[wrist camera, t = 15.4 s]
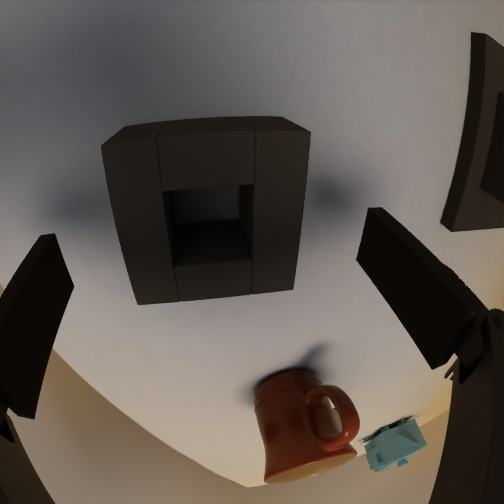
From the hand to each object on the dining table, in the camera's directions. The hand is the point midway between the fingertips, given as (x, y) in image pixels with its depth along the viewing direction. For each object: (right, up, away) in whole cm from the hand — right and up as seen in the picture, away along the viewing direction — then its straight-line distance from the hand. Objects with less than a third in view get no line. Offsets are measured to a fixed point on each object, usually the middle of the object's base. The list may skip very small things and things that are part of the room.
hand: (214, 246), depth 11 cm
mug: (+6, -13, +17) cm, 22 cm away
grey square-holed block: (-1, +3, +4) cm, 5 cm away
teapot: (+34, -44, +45) cm, 71 cm away
